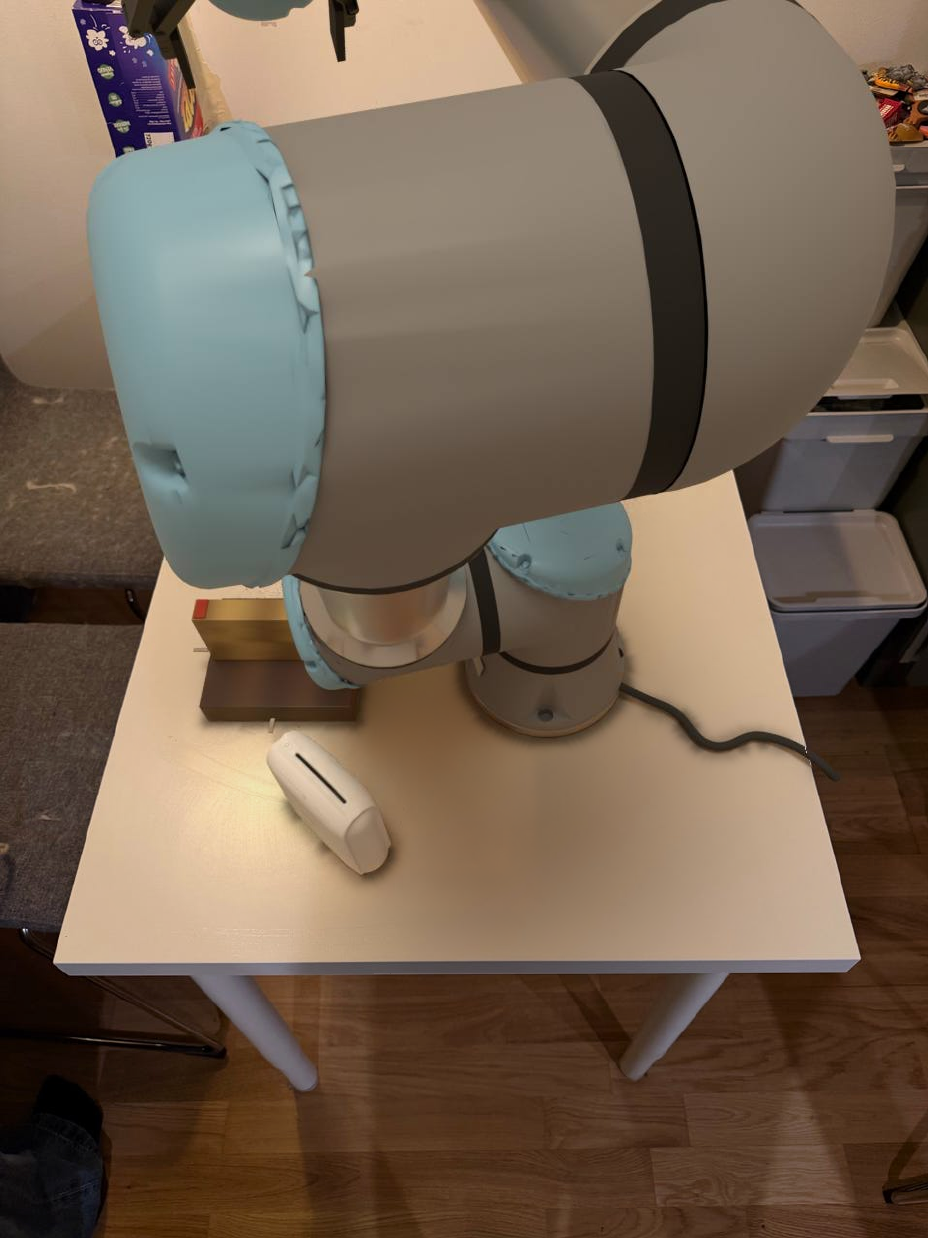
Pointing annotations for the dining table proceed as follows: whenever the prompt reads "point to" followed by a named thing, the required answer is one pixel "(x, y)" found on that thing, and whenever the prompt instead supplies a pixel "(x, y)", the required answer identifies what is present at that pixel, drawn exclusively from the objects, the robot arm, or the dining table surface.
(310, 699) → the panel
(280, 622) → the golden wooden board
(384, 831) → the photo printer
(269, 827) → the dining table surface
